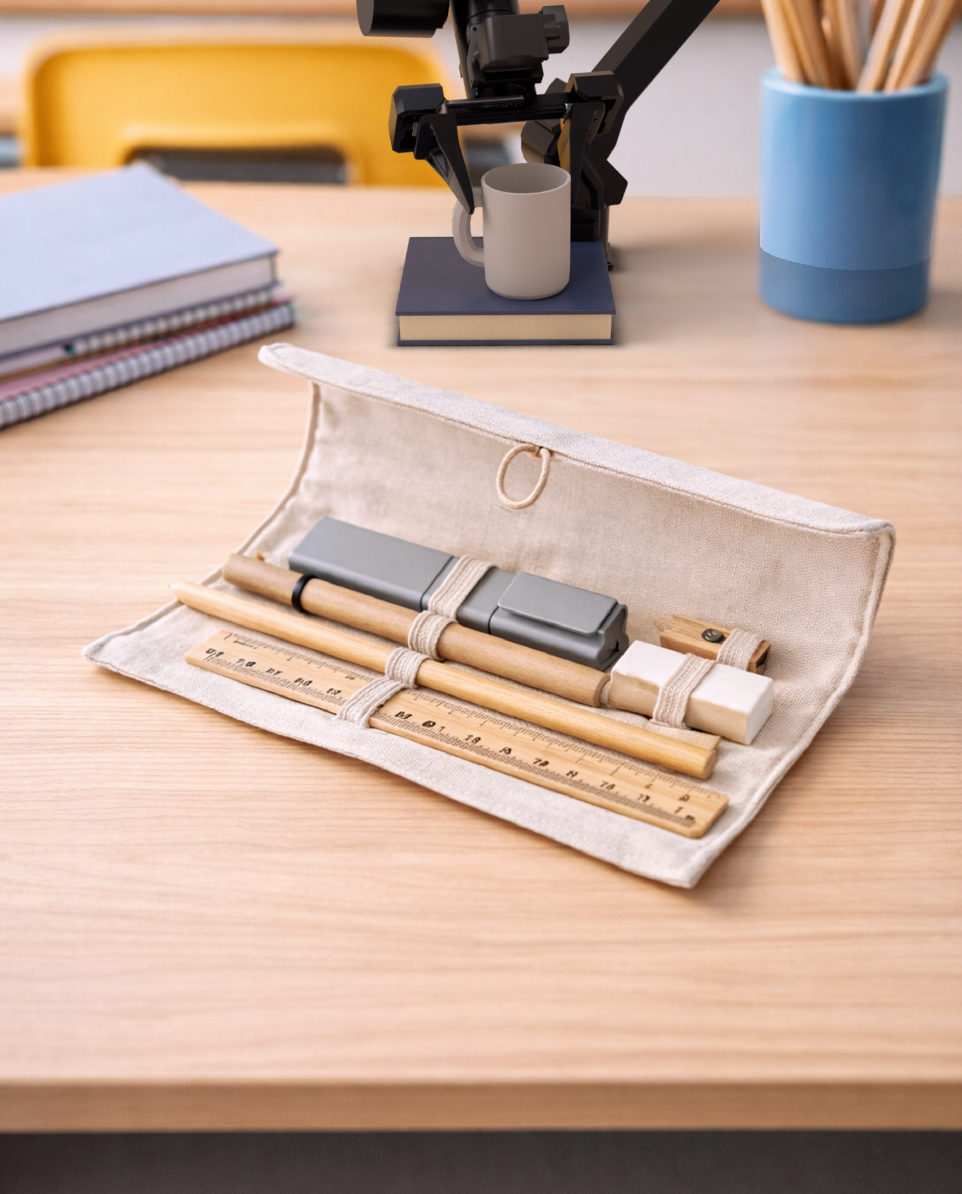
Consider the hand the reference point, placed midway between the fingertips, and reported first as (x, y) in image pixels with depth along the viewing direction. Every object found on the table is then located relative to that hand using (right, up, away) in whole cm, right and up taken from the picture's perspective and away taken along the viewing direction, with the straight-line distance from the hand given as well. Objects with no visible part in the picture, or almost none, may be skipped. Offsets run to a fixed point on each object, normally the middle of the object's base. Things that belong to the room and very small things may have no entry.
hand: (522, 207), depth 96 cm
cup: (-1, -5, +5) cm, 7 cm away
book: (-1, -5, +10) cm, 11 cm away
